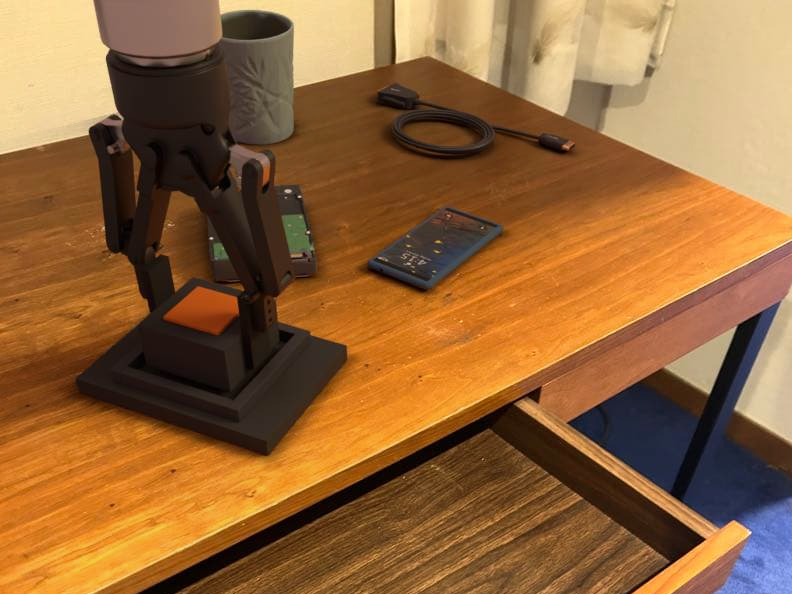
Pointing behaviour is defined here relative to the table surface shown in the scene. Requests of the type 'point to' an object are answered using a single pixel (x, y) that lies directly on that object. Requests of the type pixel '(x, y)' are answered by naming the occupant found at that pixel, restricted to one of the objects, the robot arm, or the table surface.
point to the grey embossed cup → (259, 74)
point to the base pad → (214, 408)
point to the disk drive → (294, 230)
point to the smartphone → (435, 247)
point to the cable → (410, 100)
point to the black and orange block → (199, 335)
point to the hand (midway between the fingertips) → (213, 346)
